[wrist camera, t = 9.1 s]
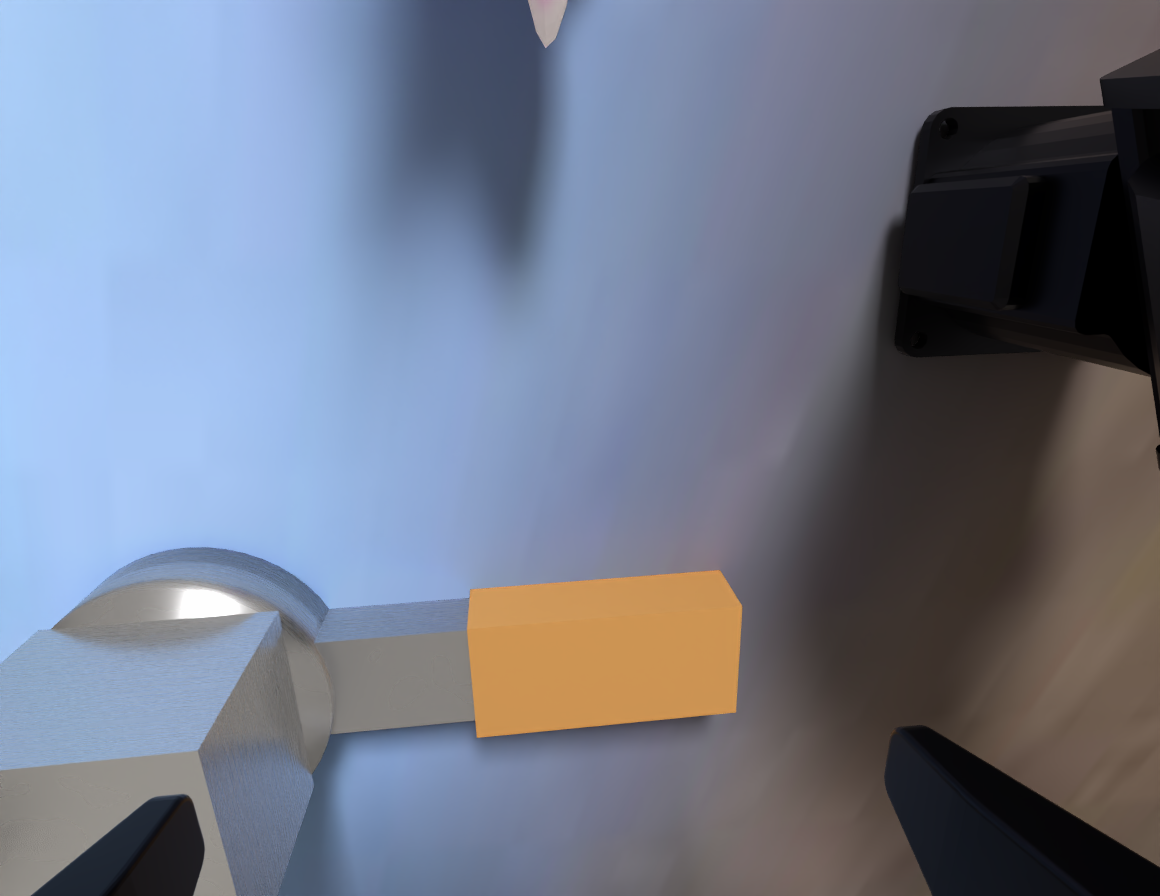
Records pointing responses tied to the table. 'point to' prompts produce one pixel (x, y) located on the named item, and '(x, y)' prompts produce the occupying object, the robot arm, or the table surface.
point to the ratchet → (461, 645)
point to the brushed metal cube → (153, 745)
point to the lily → (547, 18)
